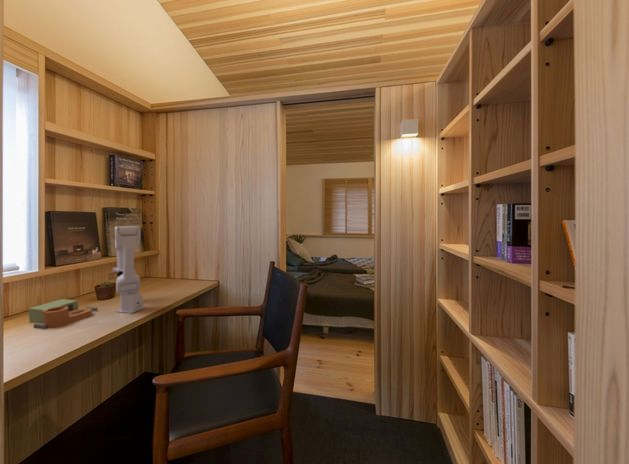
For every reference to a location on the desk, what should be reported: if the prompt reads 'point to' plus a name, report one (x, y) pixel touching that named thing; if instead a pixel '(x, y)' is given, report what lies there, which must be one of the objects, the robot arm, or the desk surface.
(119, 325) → the desk surface
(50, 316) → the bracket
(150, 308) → the desk surface
